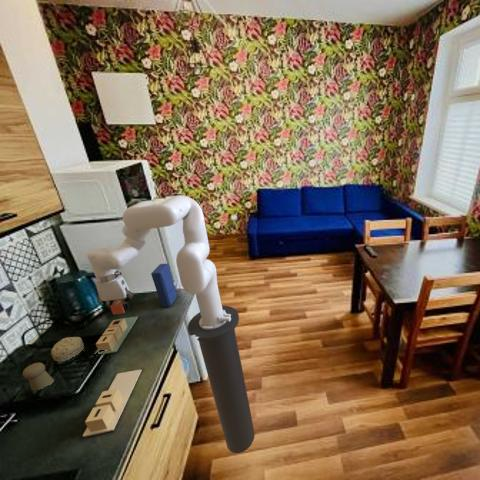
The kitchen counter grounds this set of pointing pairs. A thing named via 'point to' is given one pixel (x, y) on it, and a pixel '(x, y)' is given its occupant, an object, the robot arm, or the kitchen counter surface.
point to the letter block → (117, 307)
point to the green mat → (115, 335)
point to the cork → (37, 376)
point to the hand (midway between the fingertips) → (120, 310)
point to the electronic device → (164, 285)
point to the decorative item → (67, 348)
